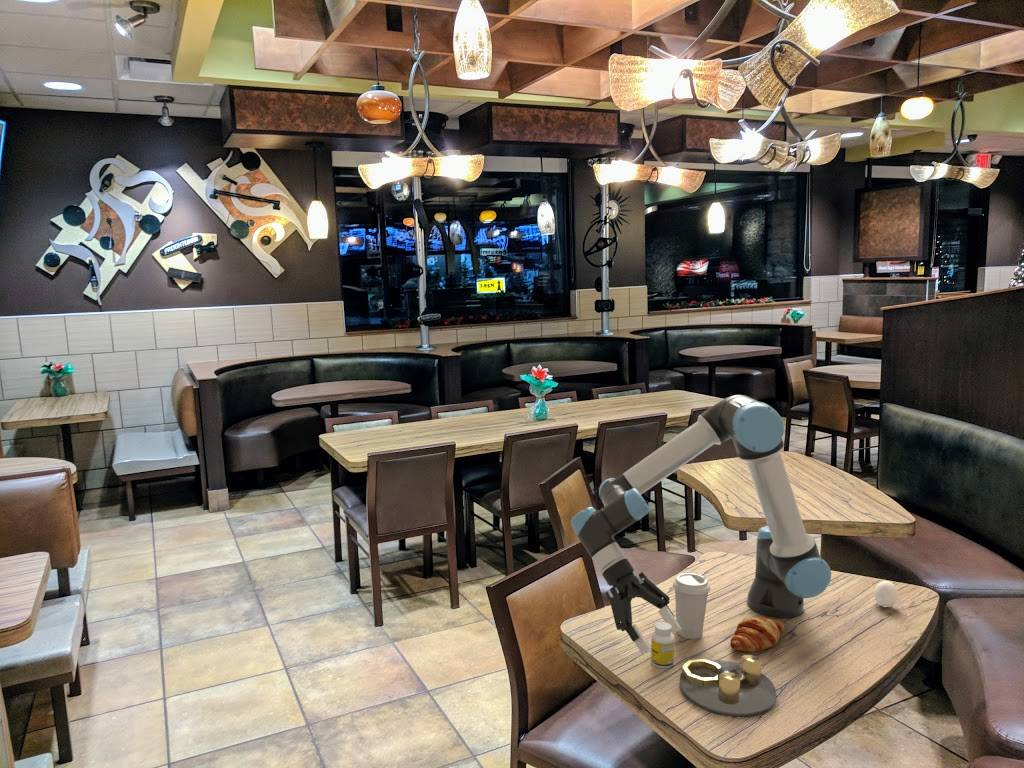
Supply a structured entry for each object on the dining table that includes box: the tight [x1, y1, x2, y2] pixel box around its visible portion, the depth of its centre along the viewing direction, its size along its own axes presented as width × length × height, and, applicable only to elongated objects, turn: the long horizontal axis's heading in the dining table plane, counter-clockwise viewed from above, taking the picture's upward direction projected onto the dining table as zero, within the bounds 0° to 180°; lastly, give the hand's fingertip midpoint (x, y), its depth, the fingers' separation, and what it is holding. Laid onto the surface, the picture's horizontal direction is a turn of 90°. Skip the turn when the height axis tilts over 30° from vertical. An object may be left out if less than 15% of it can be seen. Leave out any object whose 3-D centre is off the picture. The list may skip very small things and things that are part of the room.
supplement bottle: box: [650, 621, 675, 669], centre depth 180 cm, size 5×5×10 cm
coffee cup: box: [672, 572, 711, 640], centre depth 195 cm, size 10×10×15 cm
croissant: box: [729, 616, 785, 653], centre depth 191 cm, size 21×10×8 cm, turn 128°
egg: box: [873, 580, 899, 608], centre depth 212 cm, size 6×6×8 cm
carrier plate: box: [679, 654, 777, 718], centre depth 169 cm, size 21×21×6 cm
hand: (662, 641), depth 180 cm, fingers open, 13 cm apart
